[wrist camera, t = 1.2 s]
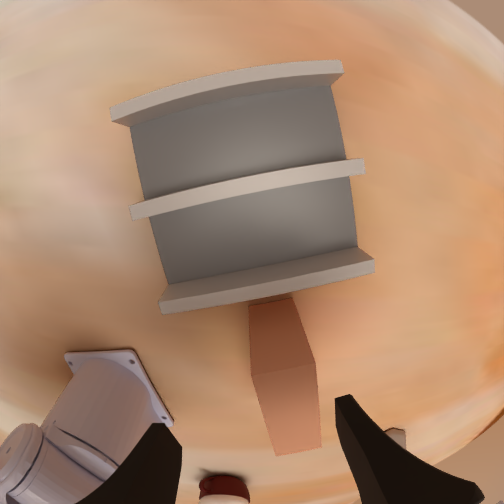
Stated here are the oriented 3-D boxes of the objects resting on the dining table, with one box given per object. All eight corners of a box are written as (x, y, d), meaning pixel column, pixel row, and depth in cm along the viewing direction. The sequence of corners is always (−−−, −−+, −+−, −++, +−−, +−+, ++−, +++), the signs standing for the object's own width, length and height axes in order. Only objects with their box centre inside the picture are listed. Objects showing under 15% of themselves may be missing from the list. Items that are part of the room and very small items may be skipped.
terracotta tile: (304, 380, 21) (321, 447, 14) (268, 387, 21) (276, 456, 14) (292, 297, 19) (315, 362, 12) (248, 306, 19) (251, 375, 12)
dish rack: (353, 253, 18) (374, 272, 14) (175, 289, 18) (162, 315, 15) (322, 78, 14) (340, 59, 11) (133, 117, 15) (109, 107, 11)
